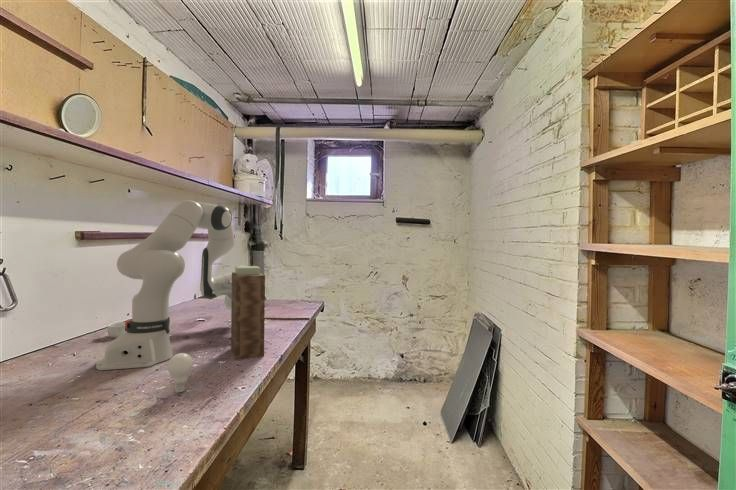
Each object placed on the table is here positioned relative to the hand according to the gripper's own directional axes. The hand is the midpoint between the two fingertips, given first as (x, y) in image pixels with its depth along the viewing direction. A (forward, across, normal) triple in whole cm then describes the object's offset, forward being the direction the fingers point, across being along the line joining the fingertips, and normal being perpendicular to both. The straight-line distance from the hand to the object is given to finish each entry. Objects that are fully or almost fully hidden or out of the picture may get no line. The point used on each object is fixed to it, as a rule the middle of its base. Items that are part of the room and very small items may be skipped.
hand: (239, 281), depth 154 cm
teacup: (-31, -47, +11) cm, 57 cm away
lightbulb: (+32, -22, +47) cm, 61 cm away
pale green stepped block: (+17, 0, +4) cm, 18 cm away
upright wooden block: (+8, 0, +33) cm, 34 cm away
